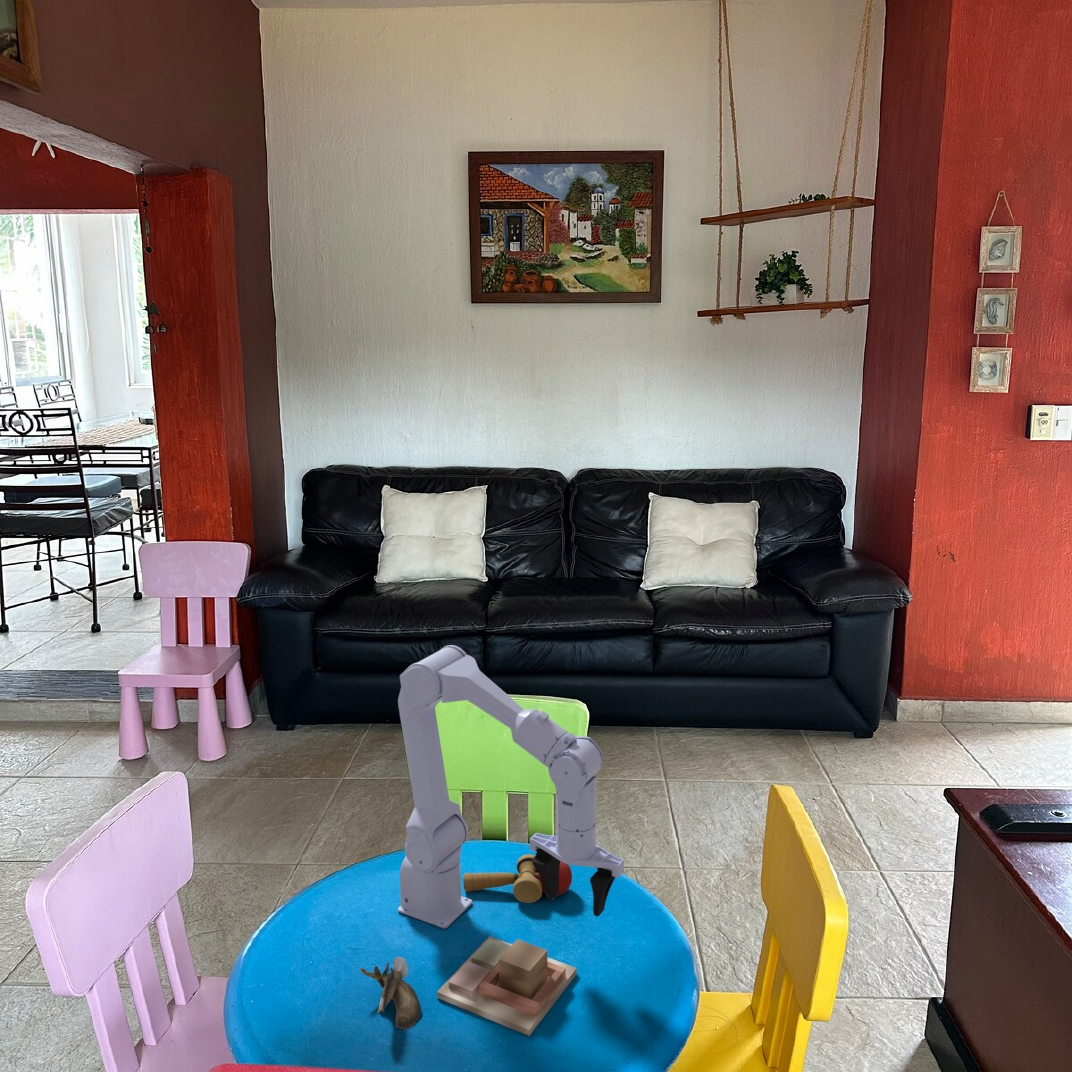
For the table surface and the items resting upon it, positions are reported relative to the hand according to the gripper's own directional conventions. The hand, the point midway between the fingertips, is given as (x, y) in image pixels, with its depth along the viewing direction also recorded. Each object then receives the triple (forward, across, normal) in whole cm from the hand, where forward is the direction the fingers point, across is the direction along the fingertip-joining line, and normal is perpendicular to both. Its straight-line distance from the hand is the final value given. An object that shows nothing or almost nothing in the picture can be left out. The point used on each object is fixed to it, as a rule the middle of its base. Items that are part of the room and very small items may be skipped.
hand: (575, 904), depth 144 cm
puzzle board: (+9, +6, +10) cm, 15 cm away
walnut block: (+8, +3, +10) cm, 13 cm away
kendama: (+10, +16, -10) cm, 21 cm away
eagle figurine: (+10, +17, +22) cm, 29 cm away
